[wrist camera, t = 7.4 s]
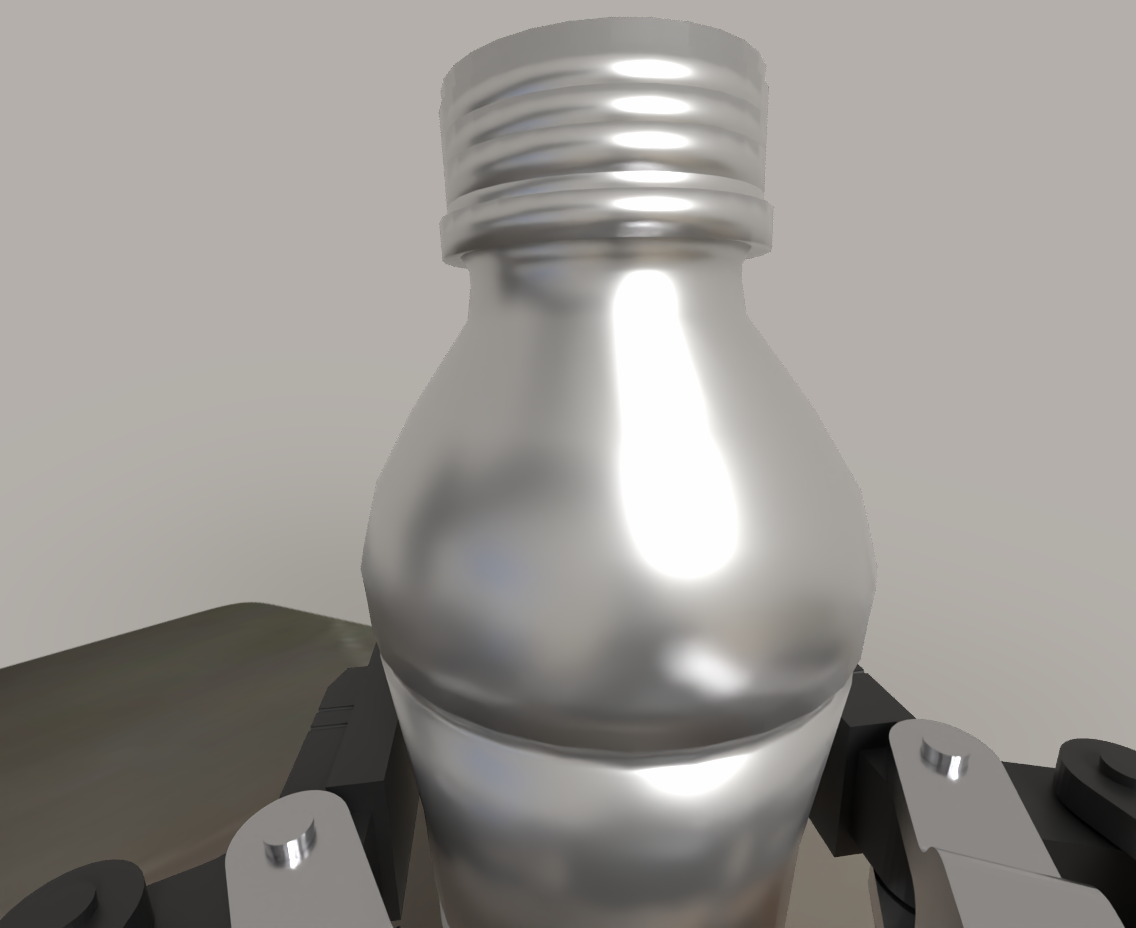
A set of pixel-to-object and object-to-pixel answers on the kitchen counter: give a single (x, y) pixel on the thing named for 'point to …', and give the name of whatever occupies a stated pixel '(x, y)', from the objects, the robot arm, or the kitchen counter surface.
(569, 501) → the silver aluminium bottle
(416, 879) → the kitchen counter surface
